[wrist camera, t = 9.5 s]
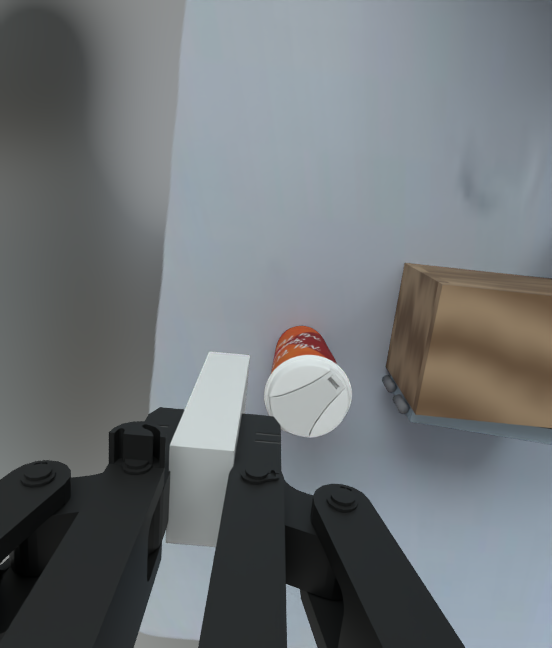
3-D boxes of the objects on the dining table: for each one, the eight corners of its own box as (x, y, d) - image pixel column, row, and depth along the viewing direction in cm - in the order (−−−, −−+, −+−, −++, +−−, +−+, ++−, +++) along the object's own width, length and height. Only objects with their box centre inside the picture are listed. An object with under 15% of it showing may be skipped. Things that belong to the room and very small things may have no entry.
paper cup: (304, 302, 52) (314, 342, 38) (348, 352, 53) (372, 406, 40) (252, 346, 53) (243, 399, 40) (296, 393, 55) (302, 460, 41)
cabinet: (404, 262, 50) (442, 284, 39) (567, 280, 51) (652, 306, 39) (385, 366, 54) (415, 414, 42) (539, 382, 54) (610, 433, 43)
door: (382, 369, 53) (403, 404, 44) (534, 395, 54) (584, 434, 45) (376, 390, 53) (396, 429, 45) (527, 415, 54) (574, 458, 46)
